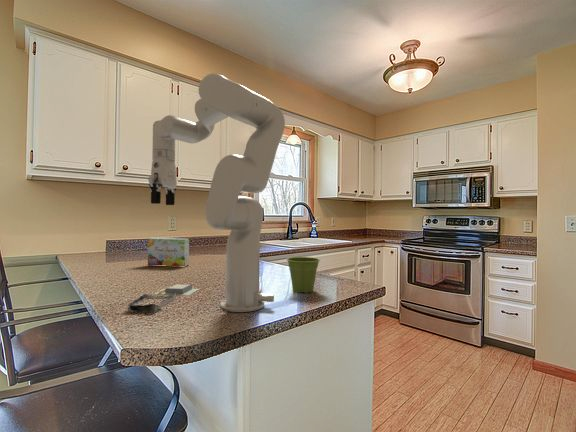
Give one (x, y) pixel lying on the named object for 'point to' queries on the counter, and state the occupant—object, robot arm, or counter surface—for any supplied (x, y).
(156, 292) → the mat
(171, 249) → the snack box
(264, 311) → the counter surface
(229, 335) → the counter surface
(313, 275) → the plant pot
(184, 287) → the slate plaque
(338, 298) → the counter surface
